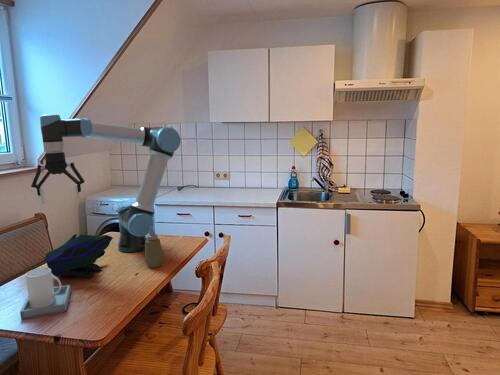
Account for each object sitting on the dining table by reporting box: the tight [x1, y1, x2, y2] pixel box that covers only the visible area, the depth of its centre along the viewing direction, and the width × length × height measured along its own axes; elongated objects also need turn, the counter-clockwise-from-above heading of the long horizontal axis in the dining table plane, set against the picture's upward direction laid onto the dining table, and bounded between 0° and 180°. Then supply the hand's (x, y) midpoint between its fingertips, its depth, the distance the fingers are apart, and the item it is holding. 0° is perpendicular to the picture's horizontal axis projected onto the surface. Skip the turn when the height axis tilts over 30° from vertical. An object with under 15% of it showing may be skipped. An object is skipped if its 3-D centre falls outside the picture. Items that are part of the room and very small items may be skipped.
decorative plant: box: [44, 233, 114, 279], centre depth 160 cm, size 21×26×30 cm
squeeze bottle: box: [144, 226, 164, 269], centre depth 168 cm, size 8×8×18 cm
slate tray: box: [19, 284, 72, 321], centre depth 136 cm, size 14×17×3 cm
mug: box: [24, 267, 62, 309], centre depth 135 cm, size 12×8×12 cm
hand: (61, 201), depth 161 cm, fingers open, 13 cm apart
